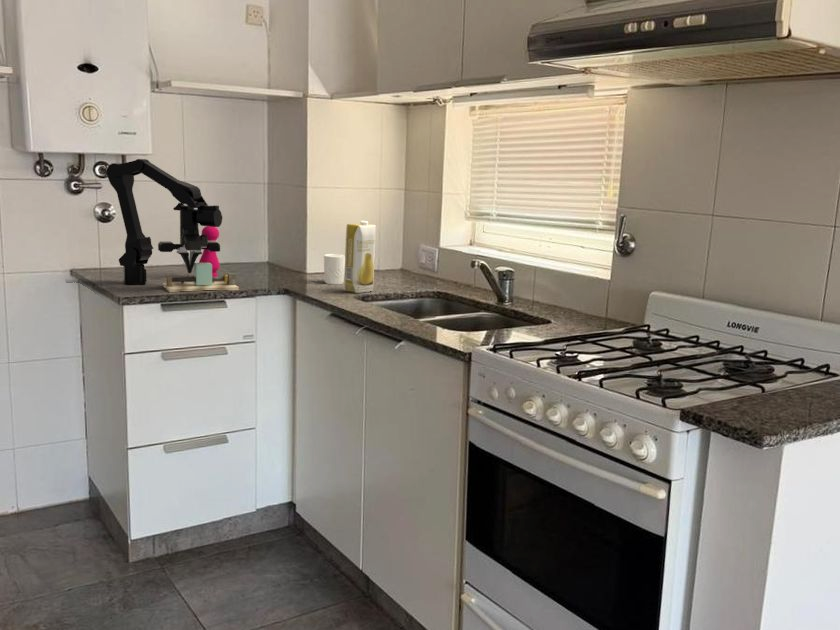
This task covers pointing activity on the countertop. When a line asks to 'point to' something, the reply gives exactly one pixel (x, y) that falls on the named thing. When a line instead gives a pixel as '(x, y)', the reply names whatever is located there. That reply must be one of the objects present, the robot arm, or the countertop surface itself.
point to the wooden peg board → (190, 286)
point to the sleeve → (203, 273)
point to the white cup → (334, 268)
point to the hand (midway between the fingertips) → (189, 273)
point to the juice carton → (359, 257)
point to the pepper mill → (207, 254)
